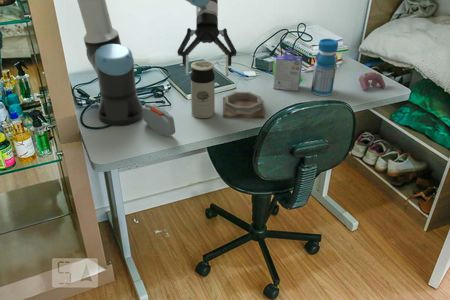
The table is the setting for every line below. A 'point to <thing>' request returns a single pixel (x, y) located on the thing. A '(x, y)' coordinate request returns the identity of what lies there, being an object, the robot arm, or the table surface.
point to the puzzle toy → (274, 67)
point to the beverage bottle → (325, 68)
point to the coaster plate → (242, 105)
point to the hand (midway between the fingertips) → (207, 74)
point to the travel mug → (202, 89)
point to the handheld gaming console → (158, 120)
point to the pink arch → (375, 79)
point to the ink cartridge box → (287, 71)
